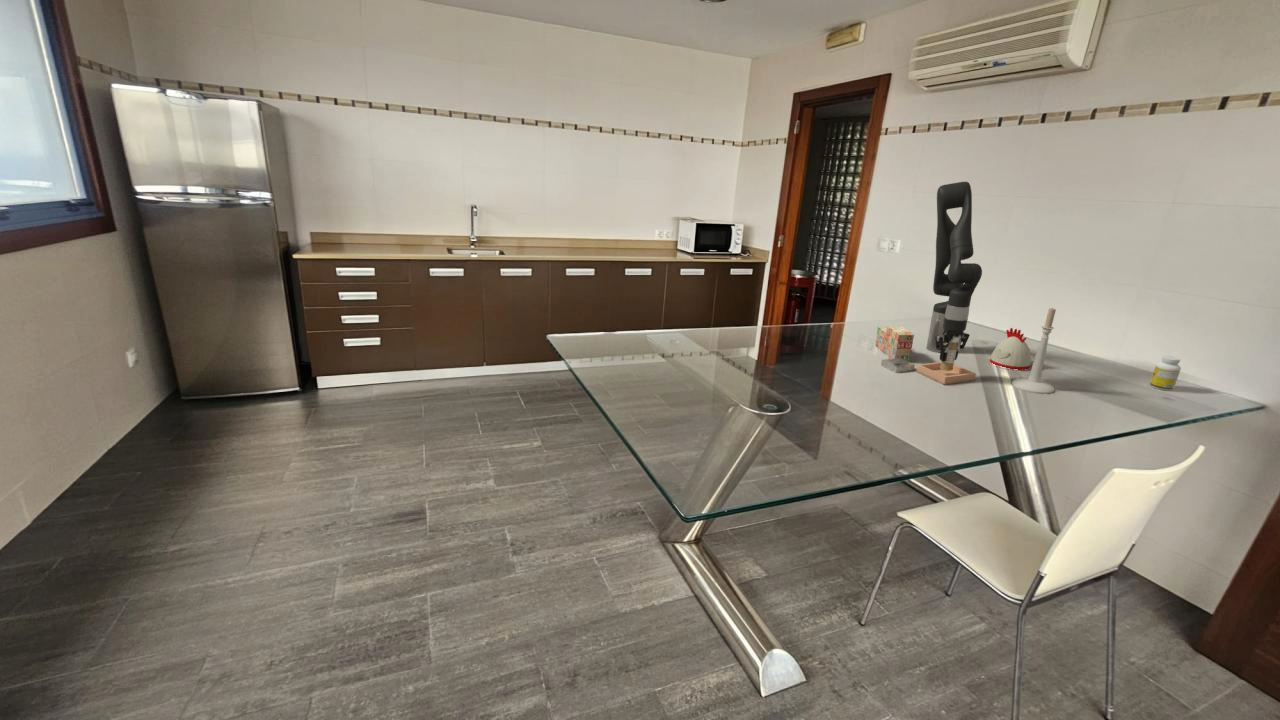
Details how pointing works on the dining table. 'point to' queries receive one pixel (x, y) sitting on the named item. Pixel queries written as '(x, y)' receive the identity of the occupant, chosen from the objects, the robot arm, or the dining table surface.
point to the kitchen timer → (1012, 352)
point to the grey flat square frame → (893, 362)
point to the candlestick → (1038, 364)
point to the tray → (946, 373)
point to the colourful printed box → (895, 341)
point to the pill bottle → (1166, 373)
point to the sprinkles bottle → (950, 356)
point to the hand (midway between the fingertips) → (947, 359)
